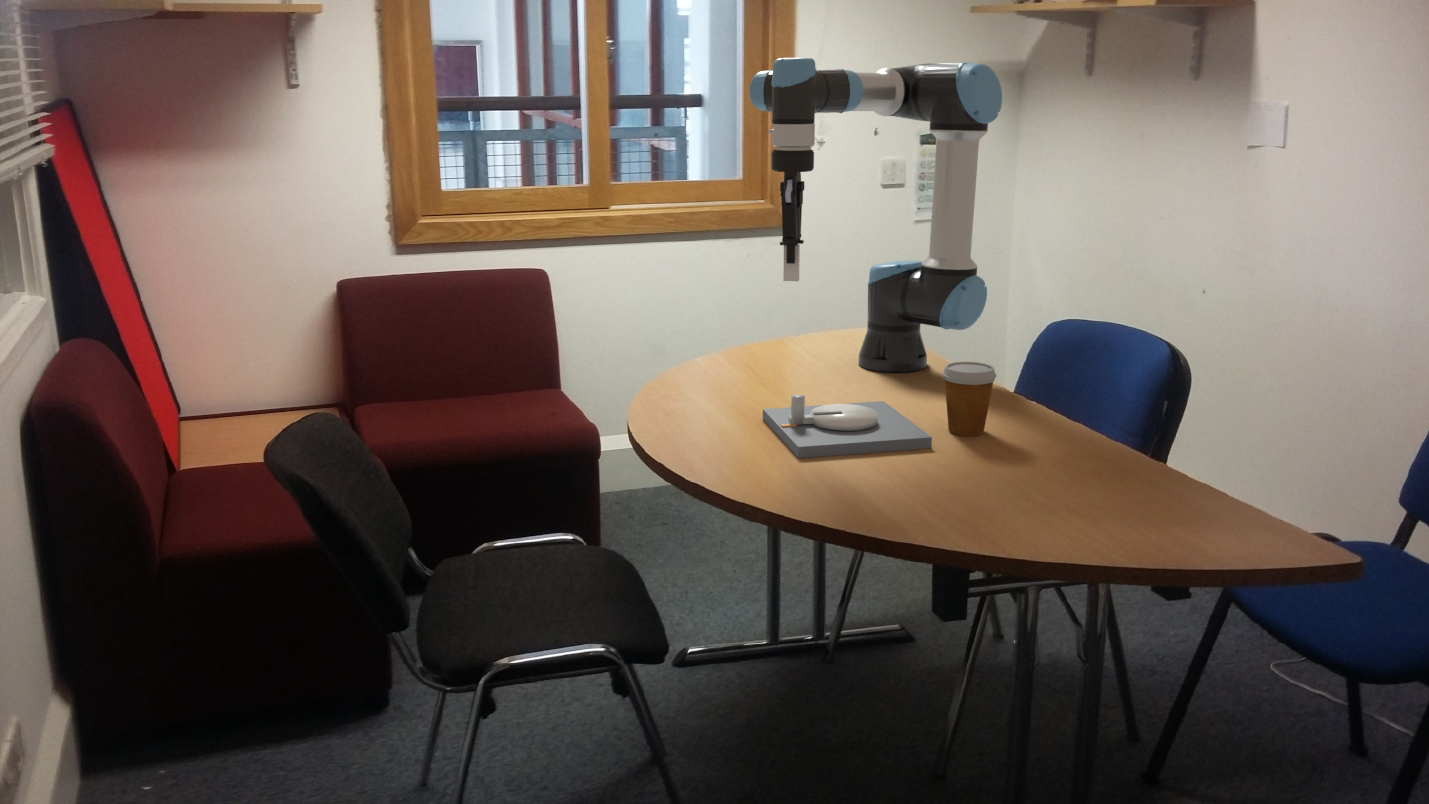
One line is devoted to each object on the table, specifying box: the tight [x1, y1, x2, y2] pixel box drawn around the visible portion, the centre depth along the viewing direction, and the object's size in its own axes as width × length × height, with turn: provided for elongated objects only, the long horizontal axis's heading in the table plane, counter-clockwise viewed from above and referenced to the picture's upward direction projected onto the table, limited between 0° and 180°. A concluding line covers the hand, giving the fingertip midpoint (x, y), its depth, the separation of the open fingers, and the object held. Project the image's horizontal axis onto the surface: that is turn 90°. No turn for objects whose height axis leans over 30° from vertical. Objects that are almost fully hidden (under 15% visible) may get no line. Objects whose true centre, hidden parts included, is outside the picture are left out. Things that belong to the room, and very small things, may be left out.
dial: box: [788, 394, 878, 431], centre depth 209 cm, size 16×12×5 cm
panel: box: [762, 400, 933, 459], centre depth 210 cm, size 24×24×2 cm
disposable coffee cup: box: [941, 361, 997, 437], centre depth 210 cm, size 10×10×12 cm
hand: (791, 280), depth 212 cm, fingers closed
